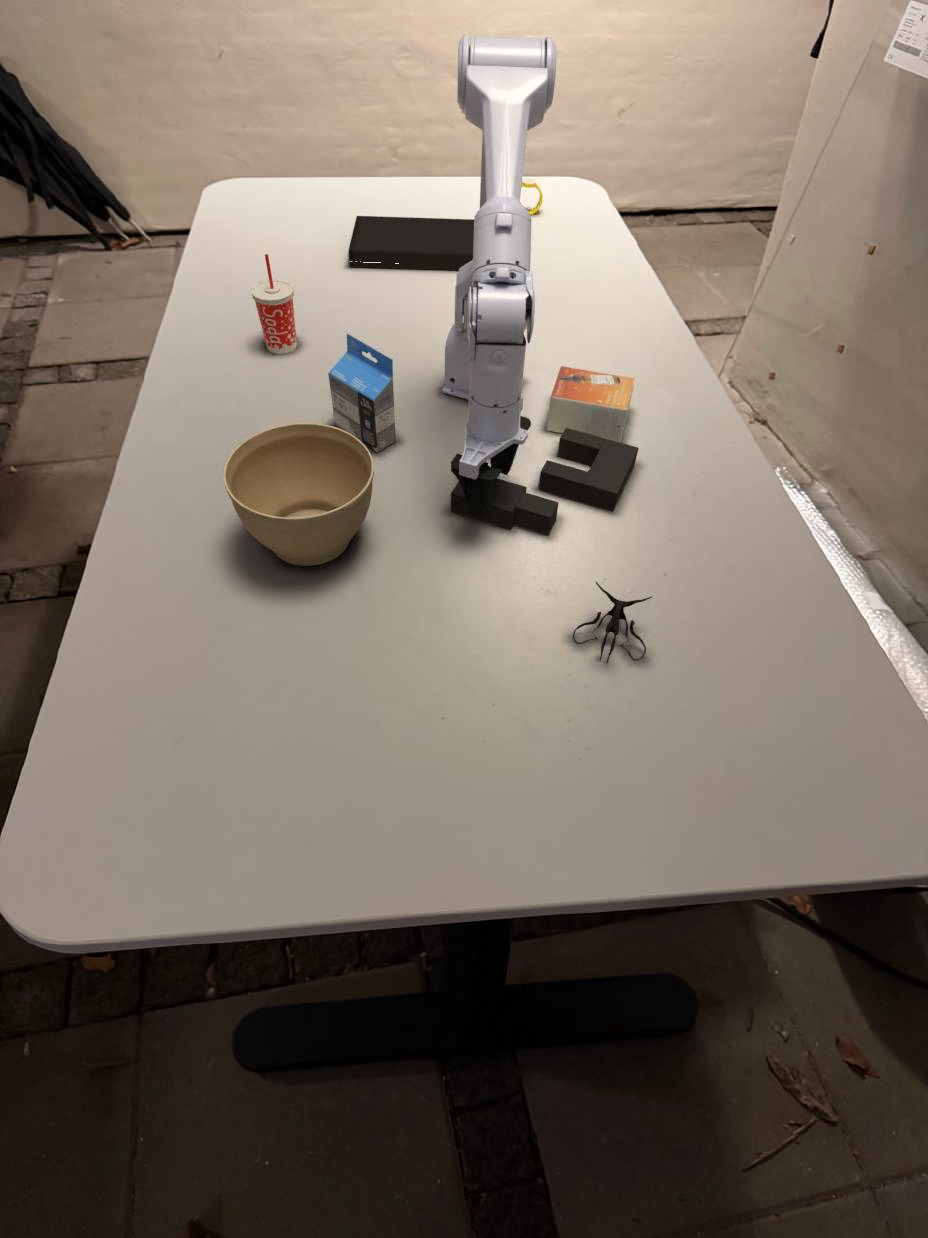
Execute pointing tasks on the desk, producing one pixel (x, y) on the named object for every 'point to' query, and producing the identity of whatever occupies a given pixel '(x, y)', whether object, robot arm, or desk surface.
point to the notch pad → (604, 475)
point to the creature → (614, 623)
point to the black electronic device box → (411, 243)
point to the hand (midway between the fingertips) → (489, 489)
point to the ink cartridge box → (364, 395)
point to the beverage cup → (276, 313)
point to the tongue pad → (510, 507)
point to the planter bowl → (301, 489)
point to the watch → (530, 184)
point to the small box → (590, 403)
